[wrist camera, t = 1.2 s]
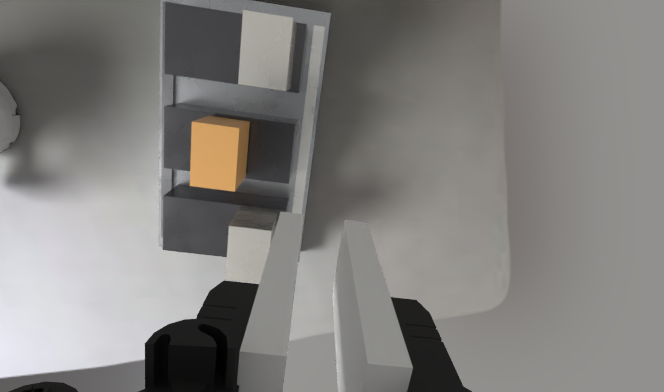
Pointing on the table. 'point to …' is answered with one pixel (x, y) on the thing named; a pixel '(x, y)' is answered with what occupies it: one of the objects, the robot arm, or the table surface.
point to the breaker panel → (242, 104)
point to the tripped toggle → (218, 152)
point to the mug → (8, 119)
